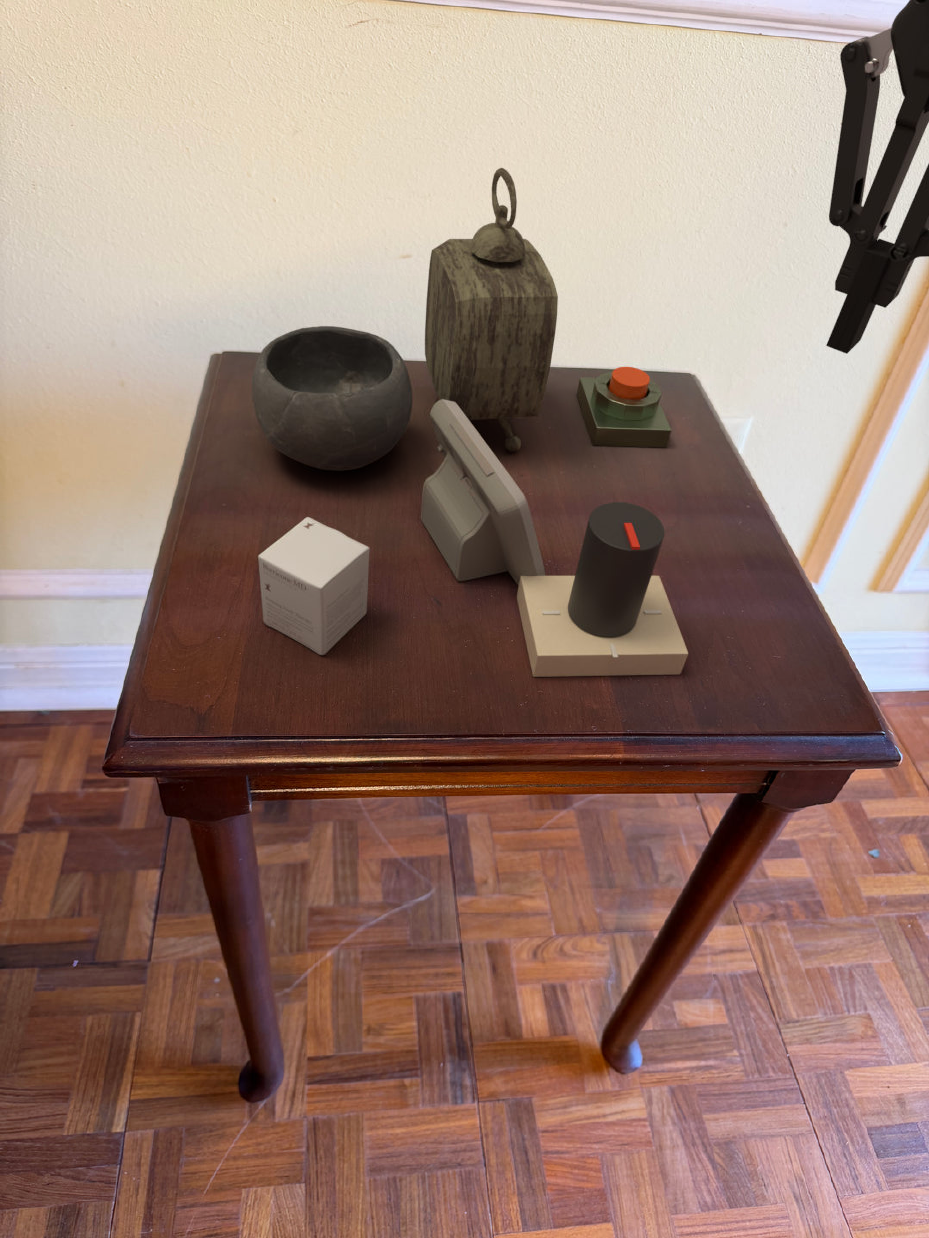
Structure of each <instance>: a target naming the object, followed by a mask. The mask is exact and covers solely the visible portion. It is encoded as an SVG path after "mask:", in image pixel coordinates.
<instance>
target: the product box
mask: <svg viewBox="0 0 929 1238" xmlns="http://www.w3.org/2000/svg"><path fill="white" fill-rule="evenodd" d="M370 550H371V549H370V547H369V546H368V545H366V544H363V543H361V542H359V541H358V540H355V539H353V538H351V537H349V536H347V535H346V534H344V533H343V532H341V531H340V530H338V529H335V528H333V527H330V526H327V525H326V524H323V523H322V522H319V521H317V520H315V519H314V518H312V517H309V516H306V517H305V518H304V519H302V520H301V521H300V522H299V523H298V524H296V525H295V526H293V528H291V529H290V530H289V531H288V532H286V533H285V534H283V536H281V537H280V538H279V539H277V541H275V542H273V543H272V544H271V545H269V547H267V548H266V549H265V550H264V551H262V552H261V553H259V554H258V556H257V559H258V561H257V562H258V573H259V584H260V595H261V608H262V621H263V623H264V624H265V625H266V627H267V626H268V627H269V628H271V629H273V630H276V631H278V632H279V633H281V634H283V635H284V636H288V637H289V638H291V639H293V640H294V641H296V642H297V643H299V644H301V645H303V646H305V647H306V648H308V649H309V650H311V651H312V652H314V653H316V654H318V655H319V656H325V655H326V654H327V653H328V652H329V651H330V650H331V649H332V648H333V647H334V646H335V645H336V644H337V643H338V642H339V641H340V640H341V639H343V637H344V636H345V635H346V634H347V633H348V632H349V631H350V630H351V629H352V628H353V627H355V625H356V624H358V622H360V621H361V620H362V619H363V618H364V616H366V615H367V614H368V613H367V611H368V595H369V573H370V571H369V570H370Z"/></svg>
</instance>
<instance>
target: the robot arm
mask: <svg viewBox="0 0 929 1238" xmlns="http://www.w3.org/2000/svg"><path fill="white" fill-rule="evenodd" d="M892 52H893V55H894V60H895V65H896V70H897V74H898V80H899V85H900V89H901V93H902V96H903V100H902V103H901V105H900V108H899V110H898V112H897V115H896V118H895V122H894V123H895V125H894V127H893V130H892V133H891V136H890V138H889V141H888V143H887V146H886V148H885V151H884V153H883V155H882V159H881V161H880V163H879V165H878V167H877V168H878V169H877V171H876V173H875V176H874V178H873V181H872V183H871V186H870V188H869V190H868V194H867V195H866V198H865V201H864V203H863V200H864V199H863V198H864V192H865V187H866V179H867V174H868V167H869V161H870V154H871V148H872V141H873V135H874V128H875V123H876V116H877V110H878V104H879V96H880V89H881V75H882V74H884V73H885V72H886V71H887V69H888V67H889V64H890V57H891V53H892ZM839 60H840V64H841V69H842V75H843V80H844V81H843V82H844V87H845V95H844V102H843V110H842V116H841V119H842V120H841V125H840V132H839V139H838V147H837V153H836V161H835V169H834V175H833V183H832V190H831V198H830V206H829V211H828V220H829V223H830V224H831V225H832V226H835V227H839V228H841V229H842V230H843V231H844V232H845V233H846V234H847V235H848V237H849V246H848V248H847V250H846V253H845V256H844V258H843V261H842V263H841V265H840V266H841V267H840V268H839V271H838V273H837V276H836V279H835V281H834V291H836V292H839V293H843V294H845V295H846V296H845V298H844V301H843V303H842V305H841V308H840V311H839V314H838V315H837V318H836V321H835V323H834V325H833V328H832V330H831V332H830V335H829V337H828V341H826V345H825V346H826V347H828V348H831V349H833V350H836V351H838V352H841V353H843V354H846V355H847V354H849V352H850V351H852V350H853V349H854V348H855V347H856V346H857V344H858V343H860V341H861V340H862V338H863V336H864V334H865V331H866V329H867V327H868V325H869V322H870V319H871V317H872V315H873V313H874V310H875V308H876V306H879V307H882V308H884V309H886V308H887V307H888V306H889V305H890V304H891V303H892V302H893V301H895V299H896V298H897V297H899V295H900V292H901V291H902V288H903V286H904V284H905V282H906V280H907V277H908V276H909V273H910V270H911V268H912V266H913V264H914V261H915V260H916V259H918V258H924V257H926V258H927V257H928V258H929V163H928V164H927V166H926V169H925V171H924V173H923V176H922V178H921V180H920V182H919V184H918V188H917V190H916V191H915V194H914V196H913V198H912V201H911V203H910V206H909V208H908V210H907V213H906V215H905V218H904V219H903V223H902V224H901V227H900V229H899V231H898V234H897V236H896V238H895V240H894V242H891V241H887V240H885V239H881V238H879V237H880V234H881V233H882V232H884V231H885V230H886V228H887V227H888V225H886V224H887V223H888V219H889V217H890V215H891V212H892V210H893V207H894V205H895V203H896V200H897V198H898V196H899V194H900V191H901V188H902V186H903V184H904V181H905V179H906V176H907V174H908V173H909V169H910V168H911V165H912V163H913V160H914V157H915V155H916V153H917V151H918V148H919V146H920V144H921V141H922V138H923V136H924V134H925V131H926V129H927V126H928V124H929V0H908V2H907V3H906V4H905V6H904V7H903V8H902V9H901V10H900V11H899V12H898V13H897V14H896V16H895V17H894V20H893V22H892V24H891V28H888V29H886V30H883V31H881V32H879V33H877V34H874V35H872V36H863V37H861V38H858V39H856V40H853V41H851V42H848V43H846V44H845V45H844V46H843V48H842V49H841V51H840V54H839Z"/></svg>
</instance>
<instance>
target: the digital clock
mask: <svg viewBox="0 0 929 1238" xmlns="http://www.w3.org/2000/svg"><path fill="white" fill-rule="evenodd" d="M429 417H430V420H431V424H432V426H433V430H434V432H435V436H436V439H437V441H438V446H437V447H436V448H437V450H438V451H439V453H442V456H443V460H442V462H441V464H440V465H439V467H438V468H437V470H436V471H435V472H433V474H431V475H430V476H428V477H427V478H426V479H425V481H424V482H423V487H422V493H421V507H420V520H421V522H422V524H423V526H424V527H425V529H426V531H427V533H428V534H429V536H430V537H431V539H432V540H433V543H435V545H436V547H437V549H438V550H439V552H440V554H441V555H442V557H443V559H444V561H445V562H446V564H447V565H448V567H449V569H450V570H451V573H452V574H453V575H454V577H455V579H456V580H457V582H465V581H470V580H474V579H479V578H483V577H488V576H493V575H498V574H500V573H506V572H508V573H509V574H510V576H511V578H512V579H513V580H514V582H515V584H516V585H517V586H518V587H519V582H520V577H521V576H546V569H545V566H544V561H543V558H542V557H543V556H542V553H541V550H540V547H539V546H540V545H539V542H538V538H537V534H536V529H535V526H534V521H533V517H532V514H531V511H530V506H529V503H528V500H527V498H526V496H525V494H524V492H522V490H521V489H520V487H519V486H518V484H517V483H516V482H515V480H514V479H513V477H512V476H511V475H510V474H509V472H508V471H507V469H506V468H505V466H504V465H503V464H502V463H501V461H500V460H499V459H498V457H497V456H496V454H495V453H494V452H493V450H492V449H491V448H490V446H489V445H488V444H487V442H486V441H485V440H484V438H483V437H482V436H481V434H480V433H479V431H478V430H477V429H476V428H475V426H474V424H472V422H471V420H468V418H467V417H466V415H465V414H464V413H463V411H462V410H461V409H460V408H459V406H458V405H457V404H456V403H455V402H453V401H448V400H444V399H441V400H439V399H438V401H436V402H435V403H434V404H433V406H432V407H431V410H430V413H429Z"/></svg>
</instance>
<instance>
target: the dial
mask: <svg viewBox="0 0 929 1238" xmlns="http://www.w3.org/2000/svg"><path fill="white" fill-rule="evenodd" d="M586 525H587V526H586V529H585V533H584V537H583V542H582V545H581V549H580V553H579V557H578V562H577V566H576V570H575V575H574V576H575V578H574V582H573V586H572V590H571V594H570V598H569V603H568V613H569V616H570V618H571V619H572V621H573V622H574V623H575V624H576V625H577V626H578V627H579V628H580V629H582V630H583V631H585V632H587V633H589V634H592V635H595V636H599V637H607V638H611V637H619V636H622V635H625V634H627V633H628V632H630V631H631V630H632V629H633V628H634V626H635V624H636V622H637V619H638V616H639V612H640V609H641V606H642V603H643V600H644V597H645V594H646V591H647V588H648V585H649V582H650V579H651V576H653V572H654V569H655V566H656V563H657V559H658V557H659V555H660V550H661V547H662V545H663V542H664V540H665V534H666V532H665V531H666V530H665V527H664V525H663V523H662V521H661V520H660V519H659V518H658V516H657V515H656V514H654V513H653V512H652V511H650V510H648V509H647V508H644V507H642V506H640V505H637V504H634V503H630V502H624V501H623V502H621V501H615V502H607V503H603V504H601V505H598V506H597V507H596V508H593V510H592V512H590V514H589V517H588V521H587V524H586Z"/></svg>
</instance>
